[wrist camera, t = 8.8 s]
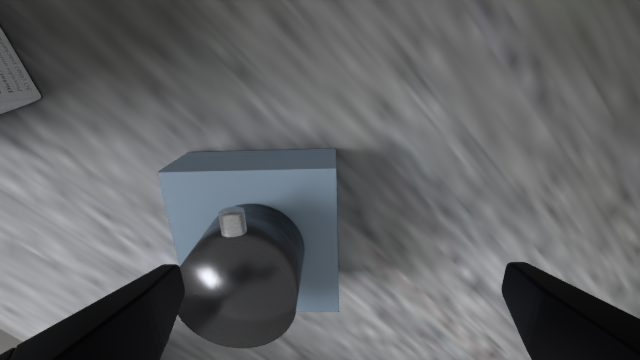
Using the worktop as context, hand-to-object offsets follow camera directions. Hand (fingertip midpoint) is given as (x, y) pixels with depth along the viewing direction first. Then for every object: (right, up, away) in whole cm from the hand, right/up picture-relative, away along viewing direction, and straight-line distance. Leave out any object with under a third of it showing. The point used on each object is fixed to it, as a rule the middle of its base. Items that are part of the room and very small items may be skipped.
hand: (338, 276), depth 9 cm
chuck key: (-4, 0, +14) cm, 14 cm away
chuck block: (-4, 0, +14) cm, 15 cm away
